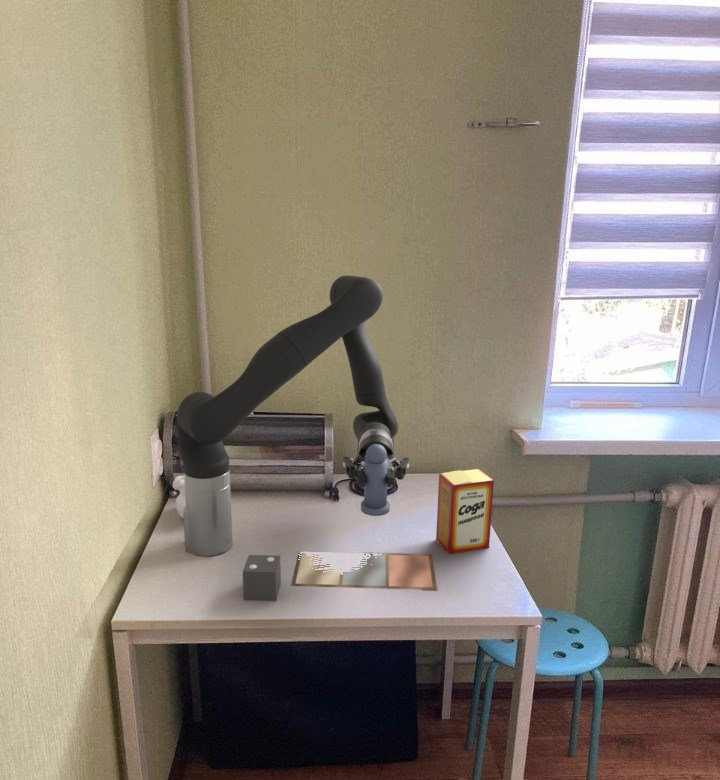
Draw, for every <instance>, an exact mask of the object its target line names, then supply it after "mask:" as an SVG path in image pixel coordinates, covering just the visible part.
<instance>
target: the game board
mask: <svg viewBox="0 0 720 780" xmlns="http://www.w3.org/2000/svg"><path fill="white" fill-rule="evenodd" d="M377 553H378V554H380V553H382V555H377V556H373V554H370V555H371V557H370V558H369V559H367V561H360V562H367V564H366V563H360V564H366V565H358V566H363V567H362V568H361V567H352V568H360V569H358V570H355V569H350V570H353V571H350V572H343V575H341V574H340V572H334V571H328V570H335V569H328V570H324V569H323V570H315V569H319V568H324V567H330V566H325V565H320V564H319V565H313V564H317V563H313V562H317V561H314V560H318V559H314V558H318V557H315V556H307V554H305V553H302V554H300V553H297V558H296V562H295V567H294V570H293V574H292V578H291V579H292V580H291V582H290V587H313V588H315V587H317V588H319V587H320V588H347V589H348V588H350V589H351V588H352V589H355V588H356V589H362V588H363V589H383V590H384V589H388V590H389V589H391V590H418V591H420V590H421V591H438V585H437V580H436V579H437V578H436V572H435V566H434V560H433V554H431V553H401V552H400V553H399V552H397V553H396V552H393V553H392V552H377ZM298 554H300V555H302V556H299V555H298ZM385 554H386V555H385ZM311 555H315V554H311ZM364 555H366V554H364ZM316 556H319V555H316ZM299 557H301V558H299ZM311 557H313V558H311ZM367 557H369V556H367ZM375 557H377V558H375ZM363 558H364V557H363ZM298 559H300V560H298ZM310 559H312V560H310ZM319 559H322V558H319ZM362 560H366V559H362ZM310 561H311V562H310ZM318 561H322V560H318ZM309 563H312V564H309ZM319 563H321V562H319ZM371 564H372V565H371ZM310 565H311V566H310ZM326 565H330V564H326ZM320 566H324V567H320ZM316 567H317V568H316ZM312 568H313V569H312ZM340 569H341V568H340ZM323 571H328V572H324V573H323Z"/></svg>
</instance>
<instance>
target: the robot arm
mask: <svg viewBox="0 0 720 780" xmlns="http://www.w3.org/2000/svg"><path fill="white" fill-rule="evenodd" d="M383 295H384V294H383V289H382V287H381V285H380V284H379V283H378V282H377V281H375V280H374V279H371V278H368V277H365V276H357V275H341V276H339V277H338V278H336V279H335V280H334V282H333V283H332V285H331V286H330V290H329V301H330V305H328V306H327V307H326V308H324V309H323V310H321V311H319V312H318V313H316V314H314V315H312V316H309V317H307V318H305V319H302V320H300V321H298V322H295V323H293V324H291V325H289V326H287V327H284V328H283V329H282V330H280V331H279V332H277V333H276V334H275V335H273V336H272V338H270V339H269V340H268V341H266V342H265V343H264V344H262V346H260V348H258V349H257V351H256V352H255V353H254V355H253V356H252V358H251V359H250V361H249V363H248V364H247V366H246V368H245V369H244V371H243V372H242V373H241V375H240V376H239V377H238V378H237V379H236V380H234V382H233V383H232V384H230V385H229V386H227V387H226V388H225V389H224V390H222V391H221V392H220V393H218V394H216V395H215V396H214V395H212V394H211V393H208V392H205V391H197V392H192V393H190V394H188V395H187V396H185V398H183V399H182V400H181V402H180V404H179V406H178V410H177V414H176V424H177V427H176V428H177V437H178V438H177V439H178V447H179V450H178V451H179V455H180V459H181V461H182V466H183V475H184V481H185V498H186V506H185V508H184V509H183V518H182V519H183V534H184V535H183V536H184V550H185V552H186V553H187V552H188V553H192V554H193V555H196V556H201V557H206V556H207V557H210V556H211V557H212V556H217V555H221V554H223V553H225V552H228V551H229V550H230V549H231V548H232V547H233V523H232V521H233V519H232V495H231V473H230V468H231V467H230V457H229V455H228V453H227V450H226V449H225V445H224V442H223V441H224V440H225V439H226V438H227V437H229V436H230V435H231V434H232V433H233V431H235V430H236V429H237V428H238V427H239V425H240V424H242V422H244V420H245V419H247V417H248V416H249V415H251V413H253V411H255V410H256V408H257V407H258V406H260V405H261V404H262V403H263V402H265V401H266V400H267V399H268V398H270V397H271V396H272V395H273V394H275V393H276V392H277V391H278V390H280V388H281V387H283V386H285V384H286V383H288V382H289V381H290V380H292V379H293V378H295V377H296V376H297V375H298V374H300V372H302V371H303V370H304V369H305V368H306V367H307V366H309V365H310V364H311V363H312V362H314V361H315V360H316V359H317V358H318V357H319V356H320V355H322V354H323V353H324V352H326V351H327V350H328V349H329V348H330V347H331V346H332V345H334V344H335V343H336V342H338V340H340V339H342V341H343V344H344V349H345V351H346V354H347V355H346V356H347V360H348V362H349V367H350V374H351V379H352V383H353V384H352V386H353V390H354V396H355V400H356V402H357V404H358V405H360V406H363V407H373V408H375V409H377V410H375V411H374V410H373V411H369V412H361V413H359V414H357V415H356V416H355V417H354V419H353V422H352V429H353V432H354V435H355V438H356V440H357V441H358V442H359V443H358V449H357V456H356V457H355V459H354V458H350V457H349V456H343V457H342V469H343V471H344V472H345V474H346V475H347V477H348V478H349V479H350V480H351V479H353V480H354V479H355V478H357V484H358V485H361V486H360V487H361V488H364V487H365V459H367V458H366V451H367V449H368V448H369V447H370V446H371V445H374V444H379V445H382V446H383V447H384V448H385V449H386V452H387V457H386V459H387V460H388V470H387V488H392V486H395V481H396V480H399V481H401V480H404V478H405V477H406V475H407V474H408V472H409V470H410V458H409V457H402V459H397V457H396V456H395V455H394V453H395V452H394V444H393V440H392V439H394V437H396V436H397V433H398V431H399V423H398V420H397V417H396V415H395V413H394V412H393V409H392V407H391V405H390V403H389V400H388V398H387V394H386V390H385V383H384V378H383V377H384V376H383V370H382V368H381V364H380V362H379V359H378V357H377V354H376V352H375V350H374V348H373V346H372V344H371V341H370V340H369V336H368V333H367V331H366V327H365V322H366V321H368V320H369V319H372V317H373V316H374V315H375V314H376V313H377V312H378V310H379V309H380V307H381V306H382V303H383ZM395 479H396V480H395Z"/></svg>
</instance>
